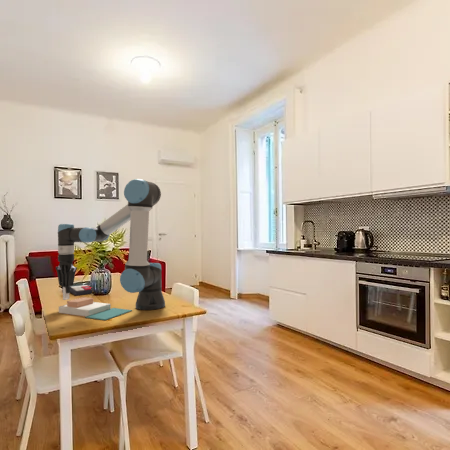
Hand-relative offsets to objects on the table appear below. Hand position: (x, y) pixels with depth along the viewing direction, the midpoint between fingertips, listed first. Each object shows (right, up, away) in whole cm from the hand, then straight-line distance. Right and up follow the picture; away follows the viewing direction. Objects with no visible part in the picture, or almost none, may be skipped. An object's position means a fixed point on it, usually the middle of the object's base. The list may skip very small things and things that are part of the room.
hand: (66, 299), depth 169 cm
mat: (+27, -5, -12) cm, 29 cm away
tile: (+9, -2, -4) cm, 10 cm away
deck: (+12, -5, -5) cm, 14 cm away
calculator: (-11, -6, +43) cm, 45 cm away
